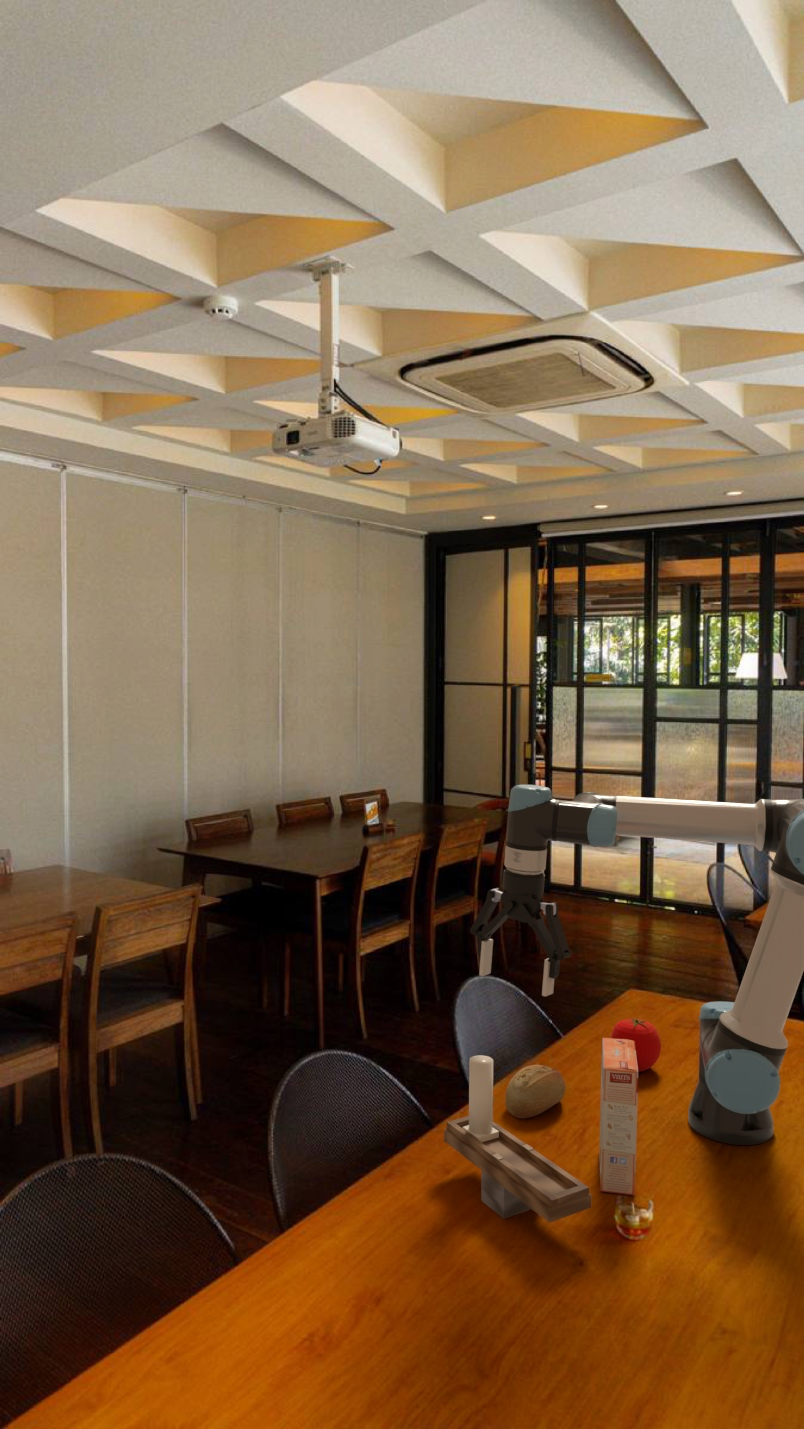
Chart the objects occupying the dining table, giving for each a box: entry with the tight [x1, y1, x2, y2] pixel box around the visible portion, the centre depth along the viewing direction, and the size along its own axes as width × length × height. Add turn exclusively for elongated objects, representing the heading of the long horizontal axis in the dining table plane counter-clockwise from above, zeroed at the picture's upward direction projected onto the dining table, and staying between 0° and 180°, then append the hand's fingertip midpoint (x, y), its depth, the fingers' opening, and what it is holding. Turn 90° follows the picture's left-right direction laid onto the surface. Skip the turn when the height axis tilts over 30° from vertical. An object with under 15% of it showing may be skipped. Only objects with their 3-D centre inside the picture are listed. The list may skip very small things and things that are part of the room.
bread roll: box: [505, 1064, 566, 1119], centre depth 185 cm, size 10×15×8 cm, turn 139°
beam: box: [443, 1115, 592, 1224], centre depth 151 cm, size 28×8×8 cm, turn 31°
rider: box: [462, 1054, 499, 1142], centre depth 159 cm, size 4×4×13 cm
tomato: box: [610, 1017, 662, 1073], centre depth 204 cm, size 10×11×11 cm
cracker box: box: [598, 1037, 639, 1196], centre depth 160 cm, size 14×6×21 cm, turn 168°
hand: (515, 984), depth 173 cm, fingers open, 13 cm apart
